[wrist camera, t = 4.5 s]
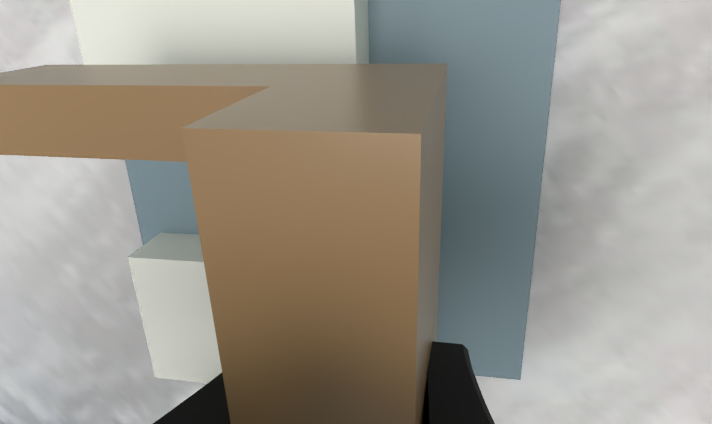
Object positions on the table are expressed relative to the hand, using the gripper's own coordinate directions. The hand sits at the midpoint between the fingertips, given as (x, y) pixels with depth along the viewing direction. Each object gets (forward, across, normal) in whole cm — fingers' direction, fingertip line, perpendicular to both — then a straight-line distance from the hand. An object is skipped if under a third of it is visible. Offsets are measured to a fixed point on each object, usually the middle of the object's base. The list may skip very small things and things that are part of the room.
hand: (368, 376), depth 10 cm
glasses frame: (+2, +3, 0) cm, 3 cm away
